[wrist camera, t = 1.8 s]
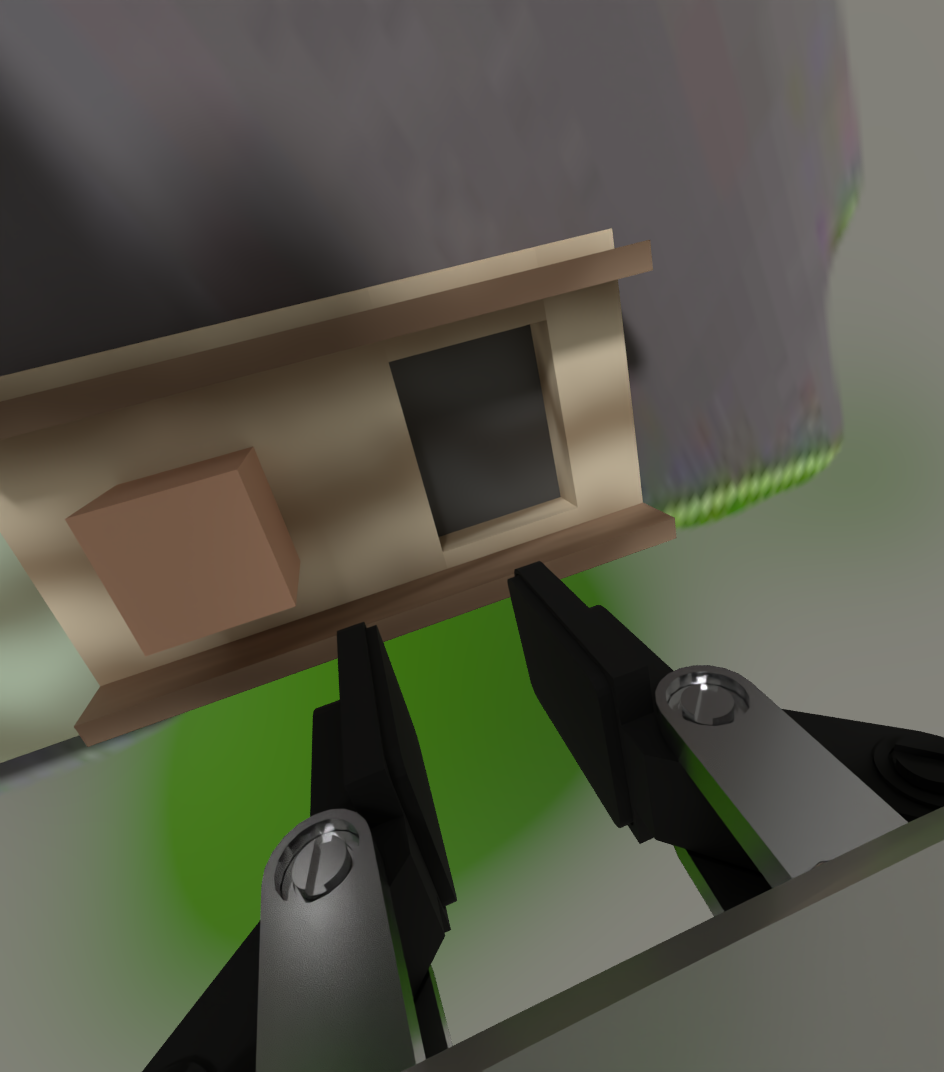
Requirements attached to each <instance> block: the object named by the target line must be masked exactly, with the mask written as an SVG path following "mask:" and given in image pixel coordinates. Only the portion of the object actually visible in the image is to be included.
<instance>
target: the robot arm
mask: <svg viewBox="0 0 944 1072" xmlns="http://www.w3.org/2000/svg"><path fill="white" fill-rule="evenodd" d="M507 583H508V588H509V592H510V597H511V601H512V605H513V609H514V613H515V618H516V621H517V626H518V630H519V634H520V639H521V643H522V647H523V651H524V655H525V659H526V664H527V668H528V672H529V677H530V680H531V684H532V687H533V689H534V692H535V694H536V696H537V698H538V700H539V701H540V703H541V705H542V706H543V708H544V710H545V711H546V713H547V714H548V716H549V718H550V719H551V721H552V723H553V724H554V726H555V727H556V729H557V731H558V732H559V734H560V736H561V737H562V739H563V740H564V742H565V744H566V745H567V747H568V749H569V750H570V752H571V753H572V755H573V756H574V758H575V760H576V762H577V763H578V765H579V766H580V768H581V770H582V771H583V773H584V775H585V776H586V778H587V779H588V781H589V783H590V784H591V786H592V787H593V789H594V791H595V792H596V794H597V796H598V797H599V799H600V800H601V802H602V804H603V805H604V807H605V808H606V810H607V812H608V813H609V815H610V817H611V818H612V820H613V822H614V823H615V824H616V826H617V827H618V828H621V827H624V826H626V825H628V826H629V828H630V829H631V831H632V833H633V834H634V836H635V837H636V839H637V840H638V842H639V843H640V844H641V843H643V842H645V841H647V840H650V839H652V838H655V839H656V840H658V841H662V842H665V843H668V844H671V845H673V846H674V848H675V850H676V853H677V855H678V857H679V859H680V861H681V863H682V864H683V866H684V868H685V869H686V871H687V873H688V874H689V876H690V878H691V879H692V881H693V882H694V884H695V886H696V887H697V889H698V891H699V892H700V894H701V896H702V897H703V899H704V901H705V902H706V904H707V905H708V907H709V909H710V911H711V912H712V914H713V916H714V917H713V918H711V919H709V920H707V921H705V922H703V923H701V924H699V925H697V926H695V927H693V928H691V929H689V930H687V931H685V932H683V933H680V934H678V935H676V936H674V937H672V938H670V939H668V940H666V941H664V942H662V943H660V944H658V945H656V946H654V947H652V948H650V949H648V950H646V951H644V952H642V953H640V954H638V955H636V956H634V957H632V958H630V959H628V960H626V961H623V962H621V963H619V964H618V965H616V966H613V967H611V968H609V969H608V970H605V971H603V972H601V973H599V974H597V975H595V976H593V977H591V978H589V979H587V980H585V981H583V982H581V983H579V984H577V985H575V986H573V987H571V988H569V989H567V990H565V991H563V992H561V993H559V994H557V995H555V996H553V997H550V998H549V999H547V1000H544V1001H543V1002H540V1003H538V1004H536V1005H534V1006H532V1007H530V1008H528V1009H526V1010H524V1011H522V1012H520V1013H518V1014H516V1015H514V1016H512V1017H510V1018H508V1019H506V1020H504V1021H502V1022H500V1023H498V1024H496V1025H494V1026H492V1027H490V1028H488V1029H486V1030H484V1031H482V1032H480V1033H478V1034H476V1035H474V1036H472V1037H470V1038H468V1039H466V1040H464V1041H462V1042H460V1043H458V1044H456V1045H454V1046H453V1045H452V1041H451V1037H450V1033H449V1029H448V1025H447V1021H446V1017H445V1013H444V1010H443V1005H442V1002H441V998H440V994H439V990H438V986H437V982H436V978H435V974H434V971H433V968H432V966H431V963H432V961H433V959H434V957H435V955H436V953H437V951H438V949H439V947H440V945H441V943H442V941H443V939H444V937H445V932H447V931H450V930H451V928H450V924H449V920H448V915H447V910H446V906H447V905H449V904H451V903H453V902H456V901H457V897H456V893H455V888H454V885H453V880H452V876H451V872H450V868H449V864H448V860H447V856H446V852H445V847H444V843H443V840H442V835H441V831H440V827H439V823H438V819H437V815H436V811H435V807H434V803H433V799H432V794H431V791H430V786H429V783H428V778H427V774H426V770H425V766H424V762H423V758H422V754H421V749H420V745H419V742H418V739H417V735H416V732H415V729H414V726H413V723H412V720H411V718H410V715H409V712H408V709H407V706H406V704H405V701H404V698H403V695H402V693H401V690H400V687H399V684H398V682H397V679H396V676H395V673H394V671H393V668H392V665H391V662H390V660H389V657H388V654H387V652H386V649H385V646H384V643H383V640H382V638H381V635H380V632H379V630H378V627H377V625H374V626H371V627H368V628H367V627H366V624H365V623H364V622H361V623H358V624H355V625H352V626H349V627H346V628H344V629H341V630H338V631H337V652H338V671H339V692H340V700H338V701H335V702H333V703H330V704H327V705H324V706H322V707H319V708H316V709H315V710H314V712H313V731H312V770H311V809H310V818H308V819H306V820H304V821H303V822H301V823H299V824H298V825H297V826H296V827H295V828H294V829H293V830H291V831H290V832H289V833H288V834H287V835H286V836H285V837H284V838H283V839H282V841H281V842H280V843H279V844H278V846H277V847H276V848H275V850H274V851H273V852H272V854H271V857H270V859H269V861H268V863H267V865H266V867H265V870H264V875H263V881H262V890H261V891H262V892H261V920H260V921H259V923H258V924H257V925H256V927H255V928H254V929H253V930H252V932H251V933H250V934H249V935H248V937H247V938H246V939H245V941H244V942H243V943H242V944H241V946H240V947H239V948H238V949H237V951H236V952H235V953H234V955H233V956H232V957H231V958H230V960H229V961H228V962H227V964H226V965H225V966H224V967H223V969H222V970H221V971H220V973H219V974H218V975H217V976H216V978H215V979H214V980H213V982H212V983H211V984H210V985H209V987H208V988H207V989H206V991H205V992H204V993H203V994H202V996H201V997H200V998H199V999H198V1001H197V1002H196V1003H195V1005H194V1006H193V1007H192V1008H191V1010H190V1011H189V1012H188V1014H187V1015H186V1016H185V1017H184V1019H183V1020H182V1021H181V1023H180V1024H179V1025H178V1026H177V1028H176V1029H175V1030H174V1032H173V1033H172V1034H171V1035H170V1037H169V1038H168V1039H167V1041H166V1042H165V1043H164V1044H163V1046H162V1047H161V1048H160V1049H159V1051H158V1052H157V1053H156V1055H155V1056H154V1057H153V1058H152V1060H151V1061H150V1062H149V1064H148V1065H147V1066H146V1067H145V1069H144V1070H143V1071H142V1072H944V738H943V737H941V736H937V735H933V734H929V733H925V732H921V731H915V730H909V729H903V728H897V727H890V726H884V725H878V724H872V723H865V722H860V721H853V720H847V719H841V718H835V717H829V716H822V715H816V714H810V713H804V712H797V711H791V710H785V709H781V708H780V707H778V706H777V705H776V704H775V703H774V702H773V701H772V700H771V699H769V698H768V697H767V696H766V695H765V694H764V693H763V692H762V691H760V690H759V689H758V688H757V687H756V686H755V685H754V684H753V683H752V682H750V681H749V680H747V679H746V678H744V677H743V676H741V675H740V674H738V673H736V672H733V671H730V670H728V669H725V668H720V667H715V666H710V665H703V666H701V665H699V666H698V665H696V666H689V667H684V668H679V669H678V670H675V671H673V670H672V669H671V668H670V667H669V666H668V665H667V664H665V663H664V662H663V661H662V660H661V659H660V658H659V657H658V656H657V655H656V654H655V653H653V652H652V651H651V650H650V649H649V648H648V647H647V646H646V645H645V644H644V643H643V642H642V641H640V640H639V639H638V638H637V637H636V636H635V635H634V634H633V633H632V632H630V631H629V630H628V629H627V628H626V627H625V626H624V625H623V624H622V623H621V622H620V621H619V620H617V619H616V618H615V617H614V616H613V615H612V614H611V613H610V612H609V611H608V610H607V609H606V608H604V607H603V606H601V605H596V606H593V607H591V608H589V607H588V606H586V605H585V604H584V603H583V602H582V601H581V600H580V599H579V598H578V597H577V596H576V595H575V594H574V593H573V592H572V591H571V590H570V589H569V588H568V587H567V586H566V585H565V584H564V583H563V582H562V581H561V580H560V579H559V578H558V577H557V576H556V575H555V574H554V573H553V572H551V571H550V570H549V569H548V568H547V567H546V566H545V565H544V564H543V563H542V562H541V561H537V562H534V563H531V564H529V565H526V566H523V567H520V568H517V569H515V570H514V577H512V578H509V579H508V580H507Z"/></svg>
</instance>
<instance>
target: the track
mask: <svg viewBox="0 0 944 1072" xmlns="http://www.w3.org/2000/svg"><path fill="white" fill-rule="evenodd" d="M651 270H653V267H652V256H651V244H650V240H647V241H643V242H639V243H635V244H631V245H627V246H623V247H619V248H615V249H614V242H613V233H612V228H611V229H607V230H603V231H599V232H595V233H591V234H586V235H582V236H578V237H574V238H570V239H566V240H562V241H557V242H553V243H549V244H545V245H541V246H537V247H533V248H529V249H524V250H520V251H516V252H512V253H508V254H504V255H500V256H496V257H491V258H487V259H483V260H479V261H475V262H471V263H467V264H462V265H458V266H454V267H450V268H446V269H442V270H438V271H434V272H429V273H425V274H421V275H417V276H413V277H409V278H405V279H401V280H396V281H392V282H388V283H384V284H380V285H376V286H372V287H368V288H363V289H359V290H355V291H351V292H347V293H343V294H339V295H334V296H330V297H326V298H322V299H318V300H314V301H310V302H306V303H301V304H297V305H293V306H289V307H285V308H281V309H277V310H273V311H268V312H264V313H260V314H256V315H252V316H248V317H244V318H239V319H235V320H231V321H227V322H223V323H219V324H215V325H211V326H206V327H202V328H198V329H194V330H190V331H186V332H182V333H178V334H173V335H169V336H165V337H161V338H157V339H153V340H149V341H145V342H140V343H136V344H132V345H128V346H124V347H120V348H116V349H111V350H107V351H103V352H99V353H95V354H91V355H87V356H83V357H78V358H74V359H70V360H66V361H62V362H58V363H54V364H50V365H45V366H41V367H37V368H33V369H29V370H25V371H21V372H16V373H12V374H8V375H4V376H0V763H2V762H5V761H7V760H10V759H13V758H16V757H19V756H22V755H25V754H27V753H30V752H33V751H36V750H39V749H42V748H45V747H47V746H50V745H53V744H56V743H59V742H62V741H65V740H67V739H70V738H73V737H76V736H79V735H80V737H81V738H82V740H83V741H84V742H85V744H86V745H87V747H89V746H92V745H94V744H97V743H100V742H103V741H106V740H109V739H111V738H114V737H117V736H120V735H123V734H125V733H128V732H131V731H134V730H137V729H140V728H142V727H145V726H148V725H151V724H154V723H157V722H159V721H162V720H165V719H168V718H171V717H173V716H176V715H179V714H182V713H185V712H188V711H190V710H193V709H196V708H199V707H201V706H204V705H207V704H210V703H213V702H215V701H218V700H221V699H224V698H227V697H230V696H233V695H235V694H238V693H241V692H244V691H247V690H250V689H252V688H255V687H258V686H261V685H264V684H266V683H269V682H272V681H275V680H278V679H280V678H283V677H286V676H289V675H291V674H295V673H297V672H300V671H303V670H306V669H309V668H311V667H314V666H317V665H320V664H323V663H326V662H328V661H331V660H334V659H337V658H338V652H337V631H338V630H341V629H344V628H346V627H349V626H352V625H355V624H358V623H361V622H364V623H365V624H366V627H367V628H368V627H371V626H374V625H377V627H378V630H379V632H380V635H381V638H382V640H383V642H385V641H388V640H390V639H393V638H396V637H399V636H402V635H405V634H407V633H410V632H413V631H416V630H419V629H421V628H424V627H427V626H430V625H433V624H435V623H438V622H441V621H444V620H446V619H450V618H452V617H455V616H458V615H461V614H464V613H467V612H469V611H472V610H475V609H478V608H481V607H483V606H486V605H489V604H492V603H495V602H498V601H500V600H503V599H506V598H509V597H510V592H509V588H508V583H507V580H508V579H509V578H512V577H514V570H515V569H517V568H520V567H523V566H526V565H529V564H531V563H534V562H537V561H541V562H542V563H543V564H544V565H545V566H546V567H547V568H548V569H549V570H550V571H551V572H553V573H554V574H555V575H556V576H557V577H558V578H559V579H562V578H565V577H568V576H571V575H574V574H577V573H579V572H582V571H584V570H588V569H591V568H593V567H596V566H599V565H602V564H605V563H608V562H610V561H613V560H616V559H619V558H622V557H624V556H627V555H630V554H633V553H636V552H639V551H641V550H644V549H647V548H650V547H653V546H655V545H658V544H661V543H664V542H667V541H669V540H672V539H675V538H676V529H675V518H674V517H672V516H670V515H668V514H665V513H663V512H661V511H659V510H657V509H655V508H653V507H651V506H649V505H647V504H645V503H643V500H642V491H641V482H640V473H639V464H638V455H637V446H636V438H635V429H634V420H633V411H632V402H631V393H630V384H629V375H628V367H627V358H626V349H625V340H624V331H623V322H622V313H621V304H620V295H619V287H618V279H621V278H624V277H628V276H632V275H636V274H640V273H644V272H648V271H651ZM250 447H254V449H255V451H256V454H257V456H258V459H259V461H260V464H261V466H262V469H263V471H264V473H265V476H266V478H267V481H268V483H269V486H270V488H271V491H272V493H273V495H274V498H275V500H276V503H277V505H278V508H279V510H280V513H281V515H282V517H283V520H284V522H285V525H286V527H287V530H288V532H289V535H290V537H291V539H292V542H293V544H294V547H295V549H296V552H297V554H298V557H299V559H300V571H299V581H298V590H297V600H296V606H295V607H292V608H289V609H286V610H283V611H280V612H277V613H274V614H271V615H268V616H265V617H262V618H259V619H256V620H253V621H250V622H247V623H244V624H241V625H238V626H235V627H232V628H229V629H226V630H223V631H220V632H217V633H214V634H211V635H208V636H205V637H202V638H199V639H196V640H193V641H190V642H187V643H184V644H181V645H178V646H175V647H172V648H169V649H166V650H163V651H161V652H158V653H155V654H152V655H149V656H146V657H145V655H144V653H143V651H142V650H141V648H140V646H139V645H138V643H137V641H136V640H135V638H134V636H133V634H132V633H131V631H130V629H129V628H128V626H127V624H126V623H125V621H124V619H123V617H122V616H121V614H120V612H119V611H118V609H117V607H116V606H115V604H114V602H113V600H112V599H111V597H110V595H109V594H108V592H107V590H106V589H105V587H104V585H103V583H102V582H101V580H100V578H99V577H98V575H97V573H96V572H95V570H94V568H93V566H92V565H91V563H90V561H89V560H88V558H87V556H86V555H85V553H84V551H83V549H82V548H81V546H80V544H79V543H78V541H77V539H76V538H75V536H74V534H73V532H72V531H71V529H70V527H69V526H68V524H67V522H66V521H65V519H66V518H67V517H69V516H70V515H72V514H73V513H75V512H76V511H78V510H79V509H81V508H82V507H84V506H85V505H87V504H88V503H90V502H91V501H93V500H94V499H96V498H97V497H99V496H100V495H102V494H103V493H105V492H106V491H108V490H109V489H111V488H112V487H114V486H116V485H118V484H122V483H126V482H129V481H133V480H136V479H140V478H143V477H147V476H150V475H154V474H157V473H161V472H165V471H168V470H172V469H175V468H179V467H182V466H186V465H189V464H193V463H197V462H200V461H204V460H207V459H211V458H214V457H218V456H221V455H225V454H228V453H232V452H236V451H239V450H243V449H246V448H250Z"/></svg>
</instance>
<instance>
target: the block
mask: <svg viewBox="0 0 944 1072" xmlns="http://www.w3.org/2000/svg"><path fill="white" fill-rule="evenodd" d="M65 521H66V522H67V524H68V526H69V527H70V529H71V531H72V532H73V534H74V536H75V538H76V539H77V541H78V543H79V544H80V546H81V548H82V549H83V551H84V553H85V555H86V556H87V558H88V560H89V561H90V563H91V565H92V566H93V568H94V570H95V572H96V573H97V575H98V577H99V578H100V580H101V582H102V583H103V585H104V587H105V589H106V590H107V592H108V594H109V595H110V597H111V599H112V600H113V602H114V604H115V606H116V607H117V609H118V611H119V612H120V614H121V616H122V617H123V619H124V621H125V623H126V624H127V626H128V628H129V629H130V631H131V633H132V634H133V636H134V638H135V640H136V641H137V643H138V645H139V646H140V648H141V650H142V651H143V653H144V655H145V657H146V656H149V655H152V654H155V653H158V652H161V651H163V650H166V649H169V648H172V647H175V646H178V645H181V644H184V643H187V642H190V641H193V640H196V639H199V638H202V637H205V636H208V635H211V634H214V633H217V632H220V631H223V630H226V629H229V628H232V627H235V626H238V625H241V624H244V623H247V622H250V621H253V620H256V619H259V618H262V617H265V616H268V615H271V614H274V613H277V612H280V611H283V610H286V609H289V608H292V607H295V606H296V600H297V590H298V581H299V571H300V559H299V557H298V554H297V552H296V549H295V547H294V544H293V542H292V539H291V537H290V535H289V532H288V530H287V527H286V525H285V522H284V520H283V517H282V515H281V513H280V510H279V508H278V505H277V503H276V500H275V498H274V495H273V493H272V491H271V488H270V486H269V483H268V481H267V478H266V476H265V473H264V471H263V469H262V466H261V464H260V461H259V459H258V456H257V454H256V451H255V449H254V447H250V448H246V449H243V450H239V451H236V452H232V453H228V454H225V455H221V456H218V457H214V458H211V459H207V460H204V461H200V462H197V463H193V464H189V465H186V466H182V467H179V468H175V469H172V470H168V471H165V472H161V473H157V474H154V475H150V476H147V477H143V478H140V479H136V480H133V481H129V482H126V483H122V484H118V485H116V486H114V487H112V488H111V489H109V490H108V491H106V492H105V493H103V494H102V495H100V496H99V497H97V498H96V499H94V500H93V501H91V502H90V503H88V504H87V505H85V506H84V507H82V508H81V509H79V510H78V511H76V512H75V513H73V514H72V515H70V516H69V517H67V518H66V519H65Z"/></svg>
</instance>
